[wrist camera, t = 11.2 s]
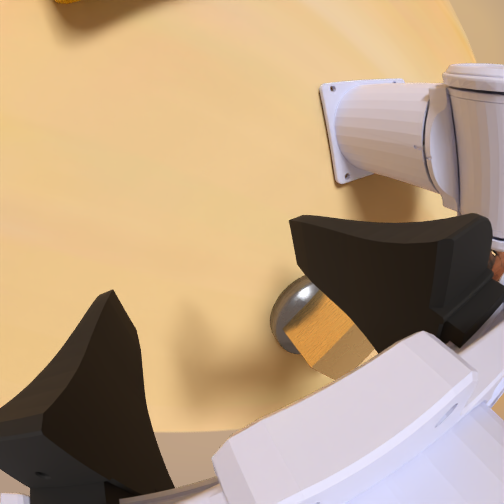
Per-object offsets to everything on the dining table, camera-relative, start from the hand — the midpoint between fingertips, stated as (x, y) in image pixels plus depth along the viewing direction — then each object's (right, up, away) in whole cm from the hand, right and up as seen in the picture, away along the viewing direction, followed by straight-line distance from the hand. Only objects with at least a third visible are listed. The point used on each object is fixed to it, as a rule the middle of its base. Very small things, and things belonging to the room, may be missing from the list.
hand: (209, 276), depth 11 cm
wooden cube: (+7, -5, +15) cm, 17 cm away
